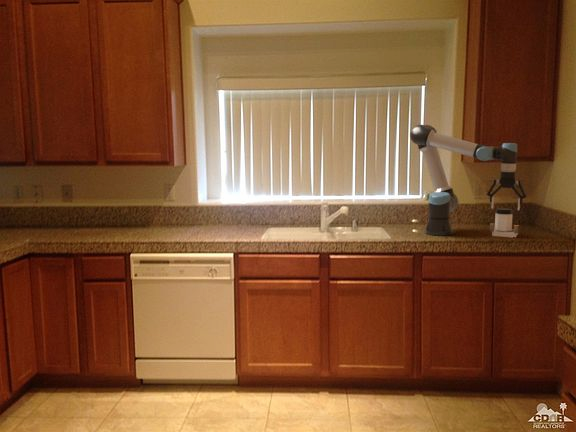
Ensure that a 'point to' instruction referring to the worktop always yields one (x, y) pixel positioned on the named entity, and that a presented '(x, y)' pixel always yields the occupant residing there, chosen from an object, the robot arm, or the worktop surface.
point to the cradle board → (504, 232)
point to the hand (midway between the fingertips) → (505, 209)
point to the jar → (503, 219)
